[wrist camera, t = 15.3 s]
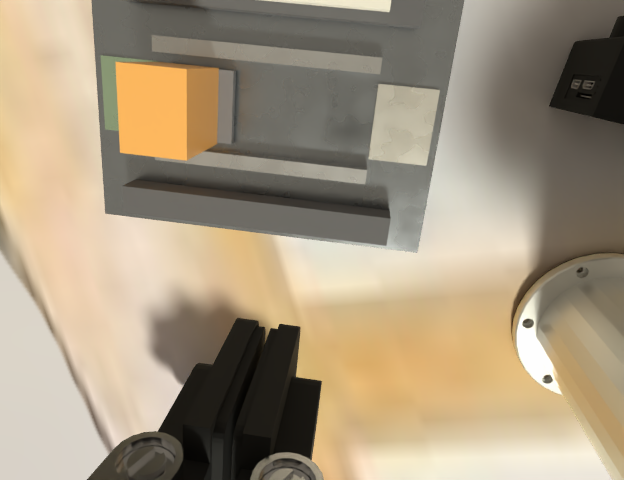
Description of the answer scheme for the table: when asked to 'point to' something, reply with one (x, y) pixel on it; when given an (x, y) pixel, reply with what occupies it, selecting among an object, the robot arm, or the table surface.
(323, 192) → the panel
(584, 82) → the digital camera
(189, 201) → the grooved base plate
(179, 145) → the toggle
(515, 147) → the table surface
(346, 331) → the table surface
